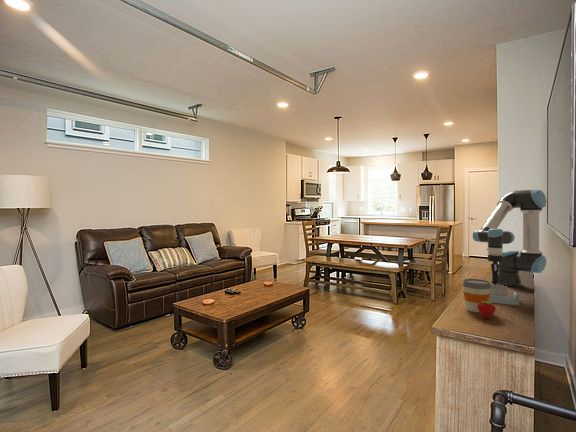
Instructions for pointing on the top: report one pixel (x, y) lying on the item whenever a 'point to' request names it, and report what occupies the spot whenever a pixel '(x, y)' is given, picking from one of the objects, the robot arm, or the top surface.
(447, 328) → the top surface
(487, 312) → the strawberry
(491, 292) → the teacup
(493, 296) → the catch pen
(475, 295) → the reusable coffee cup
